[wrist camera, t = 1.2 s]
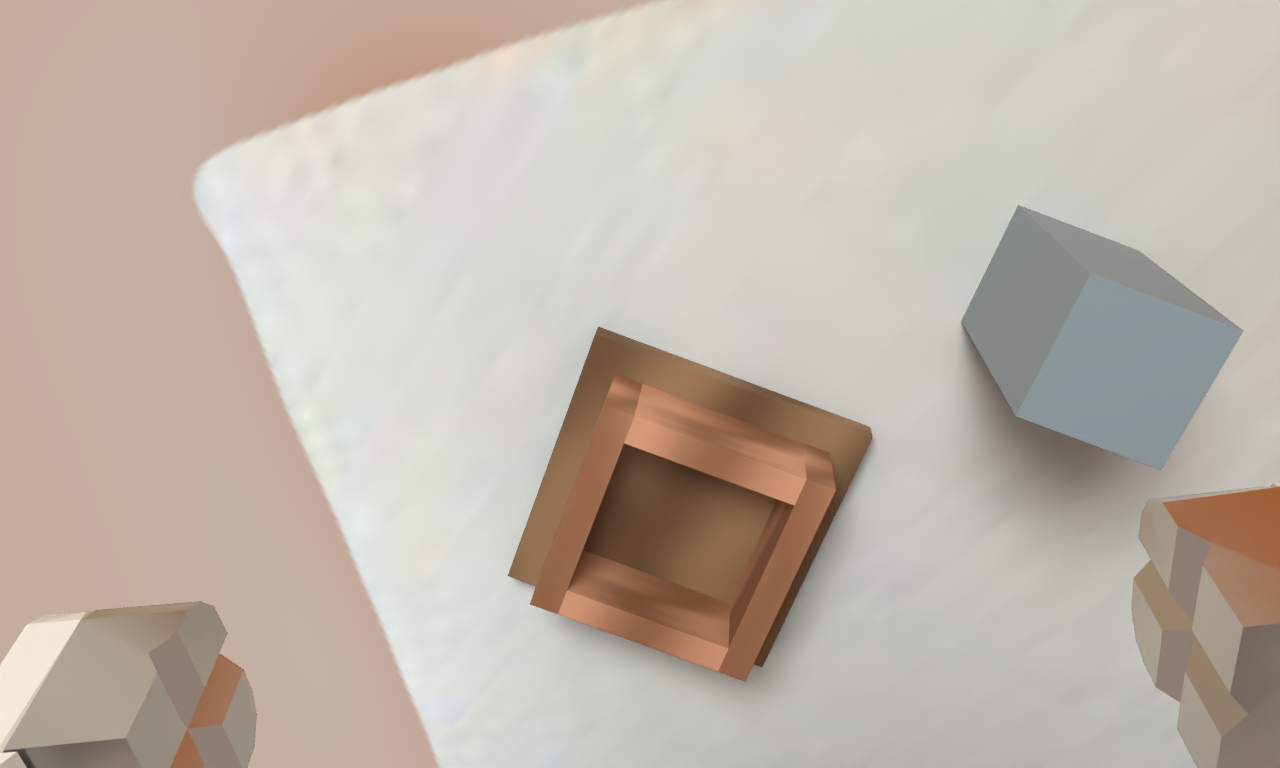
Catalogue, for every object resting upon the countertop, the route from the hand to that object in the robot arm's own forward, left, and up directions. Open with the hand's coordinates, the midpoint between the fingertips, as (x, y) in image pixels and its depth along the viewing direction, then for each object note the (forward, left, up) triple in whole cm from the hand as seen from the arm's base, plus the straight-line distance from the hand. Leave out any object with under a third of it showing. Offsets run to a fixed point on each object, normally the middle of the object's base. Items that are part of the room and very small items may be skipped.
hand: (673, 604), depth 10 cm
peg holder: (-4, +16, -36) cm, 39 cm away
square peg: (-14, +2, -36) cm, 38 cm away
